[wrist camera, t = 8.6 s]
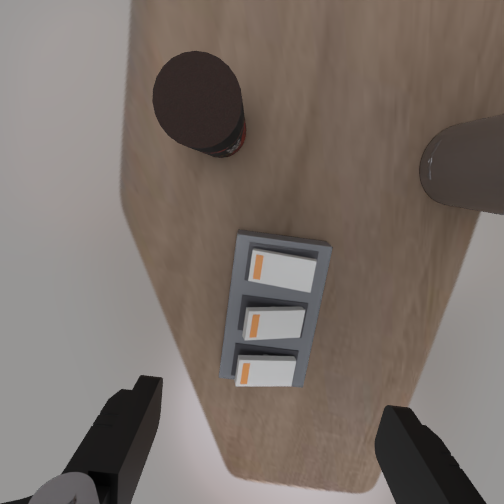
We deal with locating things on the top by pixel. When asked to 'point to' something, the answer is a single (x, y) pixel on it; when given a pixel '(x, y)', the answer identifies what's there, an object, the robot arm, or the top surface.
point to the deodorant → (200, 104)
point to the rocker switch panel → (272, 301)
